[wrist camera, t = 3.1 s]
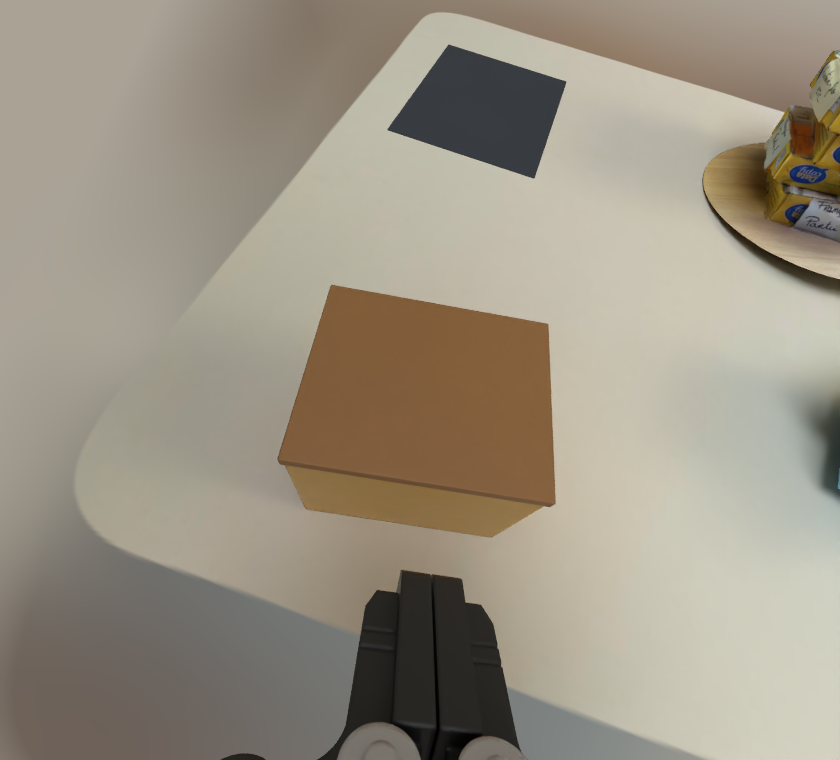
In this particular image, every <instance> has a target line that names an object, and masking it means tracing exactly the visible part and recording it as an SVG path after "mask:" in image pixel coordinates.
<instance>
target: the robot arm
mask: <svg viewBox="0 0 840 760" xmlns="http://www.w3.org/2000/svg"><path fill="white" fill-rule="evenodd" d="M222 760H265V759H264V758H262V757H260V756H257V755H253V754H237V755H231V756H229V757H226V758H223V759H222ZM318 760H527V758H526V757H525V756H524V755H523V754H522V752H521V750H520V748H519V744H518V741H517V737H516V732H515V727H514V722H513V717H512V713H511V707H510V703H509V698H508V693H507V688H506V683H505V679H504V674H503V669H502V667H501V659H500V654H499V650H498V649H497V640H496V635H495V630H494V625H493V623H492V621H491V620H490V618H489V617H488V615H487V613H486V612H485V610H484V609H483V607H482V606H481V605H478V604H471V603H465V597H464V590H463V583H462V580H461V579H460V578H454V577H447V576H440V575H433V574H432V575H430V574H425V573H419V572H412V571H405V570H401V572H400V577H399V582H398V587H397V592H396V593H394V592H387V591H380V590H377V591H376V592H375V593H374V595H373V596H372V598H371V599H370V600H369V602H368V603H367V605H366V606H365V612H364V618H363V624H362V630H361V636H360V642H359V647H358V653H357V660H356V666H355V672H354V678H353V685H352V691H351V697H350V703H349V709H348V715H347V722H346V726H345V728H344V731H343V733H342V735H341V737H340V738H339V740H338V741H337V743H336V744H335V745H334V747H333V748H332V749H331V750H330V751H328V752H327V753H326V754H325V755H324V756H322V757H321V758H319V759H318Z"/></svg>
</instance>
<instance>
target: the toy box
mask: <svg viewBox="0 0 840 760" xmlns="http://www.w3.org/2000/svg"><path fill="white" fill-rule="evenodd" d="M278 461H279V463H280V464H281V465H285V467H286V469H287V471H288V473H289V475H290V477H291V479H292V481H293V483H294V485H295V487H296V489H297V491H298V493H299V495H300V497H301V499H302V501H303V504H304V506H305V508H306V509H309V510H316V511H322V512H329V513H335V514H342V515H348V516H355V517H361V518H368V519H374V520H381V521H387V522H394V523H400V524H407V525H413V526H420V527H426V528H433V529H439V530H446V531H453V532H459V533H466V534H472V535H479V536H485V537H493V536H495V535H497V534H498V533H500V532H502V531H503V530H505V529H507V528H508V527H510V526H512V525H513V524H515V523H517V522H518V521H520V520H522V519H523V518H525V517H527V516H528V515H530V514H532V513H533V512H535V511H537V510H538V509H540V508H542V507H543V506H546V507H551V506H553V505H554V504H555V478H554V454H553V429H552V405H551V380H550V355H549V331H548V324H546V323H540V322H535V321H529V320H523V319H518V318H512V317H507V316H501V315H496V314H490V313H485V312H479V311H474V310H468V309H462V308H457V307H451V306H446V305H440V304H435V303H429V302H424V301H418V300H412V299H407V298H401V297H396V296H390V295H385V294H379V293H374V292H368V291H363V290H357V289H351V288H346V287H340V286H335V285H331V287H330V290H329V293H328V296H327V300H326V303H325V306H324V309H323V313H322V316H321V319H320V322H319V326H318V329H317V332H316V335H315V339H314V342H313V345H312V348H311V352H310V355H309V358H308V361H307V365H306V368H305V371H304V374H303V378H302V381H301V384H300V387H299V391H298V394H297V397H296V400H295V404H294V407H293V410H292V413H291V417H290V420H289V423H288V426H287V430H286V433H285V436H284V439H283V443H282V446H281V449H280V452H279V456H278Z"/></svg>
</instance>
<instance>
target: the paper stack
mask: <svg viewBox="0 0 840 760" xmlns="http://www.w3.org/2000/svg"><path fill="white" fill-rule="evenodd" d="M810 86H811V88H812V90H811V92H810V99H811V105H812V108H813V109H812V108H807V107H802V106H797V105H791V106H790V107H789V108H788V109H787V111H786V112H785V114H784V115H783V117H782V118H781V120H780V122H779V123H778V125H777V126H776V128H775V129H774V131H773V132H772V136H771V138H770V139H769V140H768V141H767V142H766V143H759V144H750V145H745V146H740V147H736V148H733V149H730V150H727V151H725V152H723V153H721V154H719V155H718V156H716V157H715V158H714V159H713V160H711V162H710V163H709V164H708V165H707V167H706V169H705V171H704V175H703V185H704V189H705V193H706V195H707V197H708V199H709V201H710V203H711V204H712V206H713V207H714V209H715V210H716V211H717V212H718V214H719V215H720V216H721V217H722V218H723V219H724V220H725V221H726V222H727V223H728V224H730V225H731V226H732V227H733V228H734V229H735V230H737V231H738V232H739V233H741V234H742V235H743V236H744V237H746V238H747V239H749V240H751V241H752V242H753V243H755V244H756V245H758V246H759V247H761V248H763V249H764V250H766V251H768V252H770V253H772V254H774V255H776V256H778V257H780V258H782V259H784V260H786V261H789V262H791V263H793V264H795V265H797V266H800V267H802V268H805V269H808V270H811V271H814V272H817V273H820V274H823V275H826V276H829V277H834V278H837V279H840V51H838V50H837V51H833V52H832V53H831V54H830V56H829V57H828V59H827V60H826V62H825V63H824V65H823V66H822V67H821V69H820V71H819V72H818V74H817V75H816V76H815V78H814V79H813V81H812V82H811V84H810Z"/></svg>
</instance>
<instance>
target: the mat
mask: <svg viewBox="0 0 840 760" xmlns="http://www.w3.org/2000/svg"><path fill="white" fill-rule="evenodd" d="M565 85H566V81H562V80H559V79H556V78H553V77H550V76H547V75H543V74H540V73H537V72H534V71H531V70H528V69H524V68H521V67H518V66H515V65H512V64H509V63H505V62H502V61H499V60H496V59H493V58H490V57H486V56H483V55H480V54H477V53H474V52H471V51H467V50H464V49H461V48H458V47H455V46H452V45H448V46H447V48H446V49H445V50H444V52H443V53H442V55H441V56H440V57H439V59H438V60H437V61H436V63H435V64H434V66H433V67H432V68H431V70H430V71H429V73H428V74H427V75H426V77H425V78H424V79H423V81H422V82H421V84H420V85H419V86H418V88H417V89H416V91H415V92H414V93H413V95H412V96H411V98H410V99H409V100H408V102H407V103H406V104H405V106H404V107H403V109H402V110H401V111H400V113H399V114H398V116H397V117H396V118H395V120H394V121H393V122H392V124H391V125H390V127H389V128H388V129H387V130H389V131H392V132H395V133H398V134H401V135H404V136H407V137H410V138H413V139H416V140H419V141H422V142H425V143H428V144H431V145H434V146H437V147H440V148H443V149H446V150H449V151H452V152H455V153H458V154H461V155H464V156H467V157H470V158H473V159H476V160H480V161H483V162H486V163H489V164H492V165H495V166H498V167H501V168H504V169H507V170H510V171H513V172H516V173H519V174H522V175H525V176H528V177H531V178H535V175H536V172H537V169H538V166H539V163H540V160H541V157H542V154H543V151H544V148H545V145H546V142H547V139H548V136H549V133H550V130H551V127H552V124H553V121H554V118H555V115H556V112H557V109H558V106H559V103H560V100H561V97H562V94H563V91H564V88H565Z"/></svg>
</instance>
